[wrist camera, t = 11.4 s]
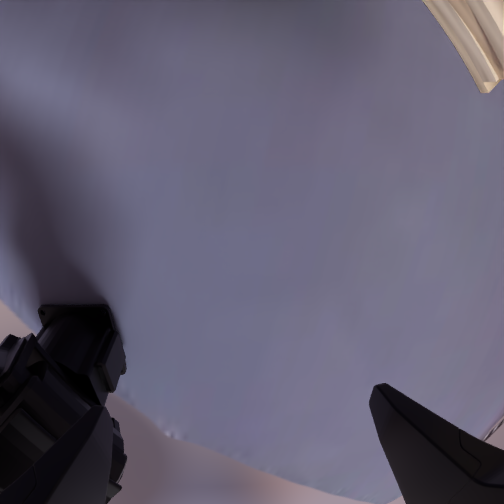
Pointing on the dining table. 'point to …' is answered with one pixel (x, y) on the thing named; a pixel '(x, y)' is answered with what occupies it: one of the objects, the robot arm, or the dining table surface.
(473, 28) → the offcut rack
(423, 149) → the dining table surface
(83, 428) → the robot arm
